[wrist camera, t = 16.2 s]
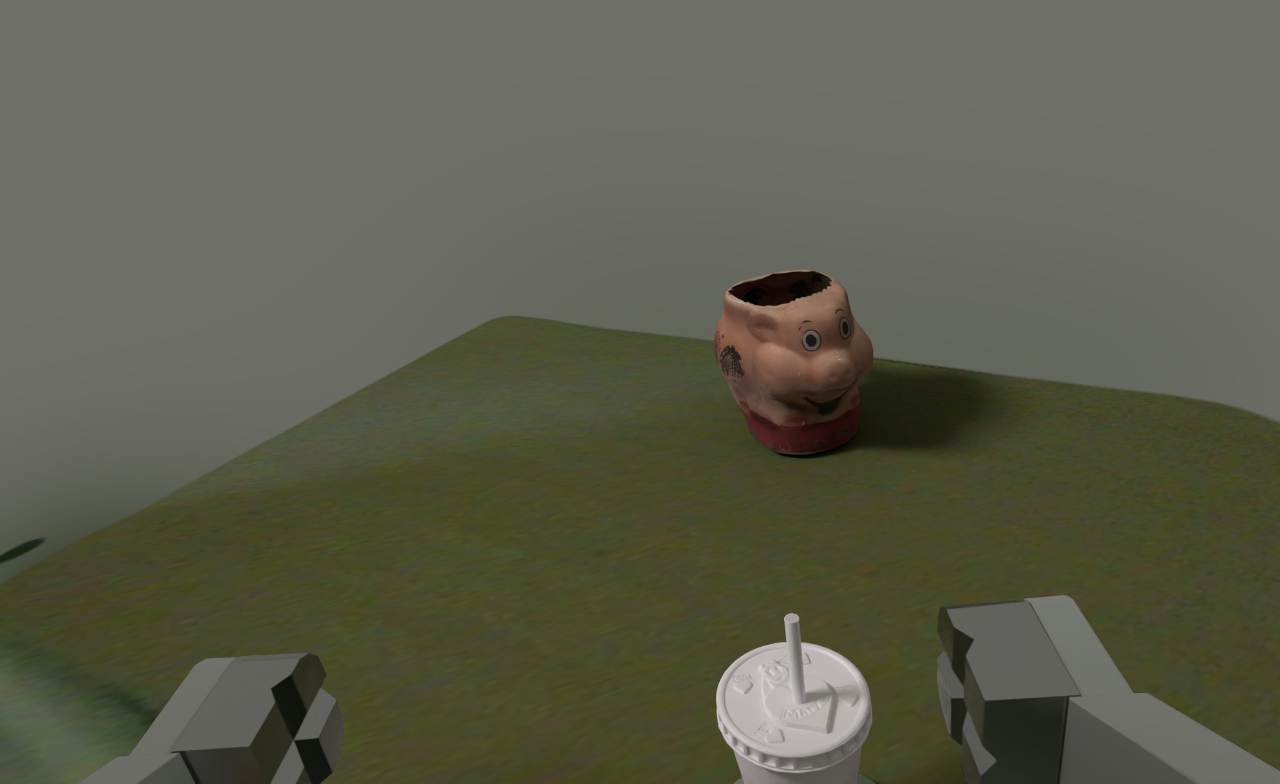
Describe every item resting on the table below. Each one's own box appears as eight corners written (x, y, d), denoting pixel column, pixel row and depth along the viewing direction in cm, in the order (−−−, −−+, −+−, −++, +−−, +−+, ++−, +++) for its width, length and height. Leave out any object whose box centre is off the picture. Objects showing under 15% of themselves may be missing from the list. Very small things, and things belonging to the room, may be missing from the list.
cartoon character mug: (684, 408, 84) (665, 274, 78) (788, 372, 88) (777, 243, 82) (796, 494, 67) (782, 332, 61) (920, 446, 71) (917, 288, 65)
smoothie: (786, 947, 35) (756, 695, 29) (712, 829, 41) (674, 597, 35) (909, 873, 37) (904, 624, 31) (823, 770, 43) (805, 542, 37)
